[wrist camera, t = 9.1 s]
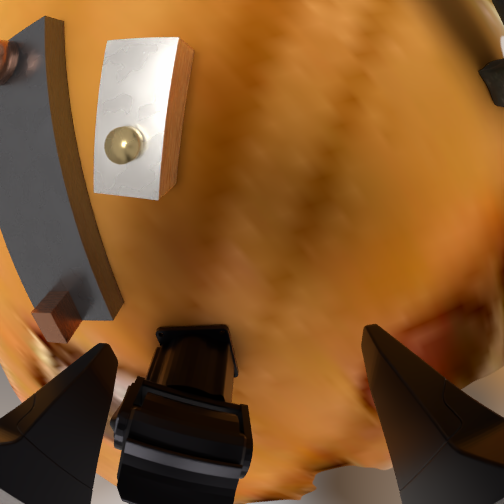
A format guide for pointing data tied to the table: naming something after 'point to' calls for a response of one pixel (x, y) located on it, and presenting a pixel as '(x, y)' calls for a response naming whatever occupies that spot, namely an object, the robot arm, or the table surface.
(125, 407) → the robot arm
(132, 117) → the brown and grey block
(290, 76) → the table surface
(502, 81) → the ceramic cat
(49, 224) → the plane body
